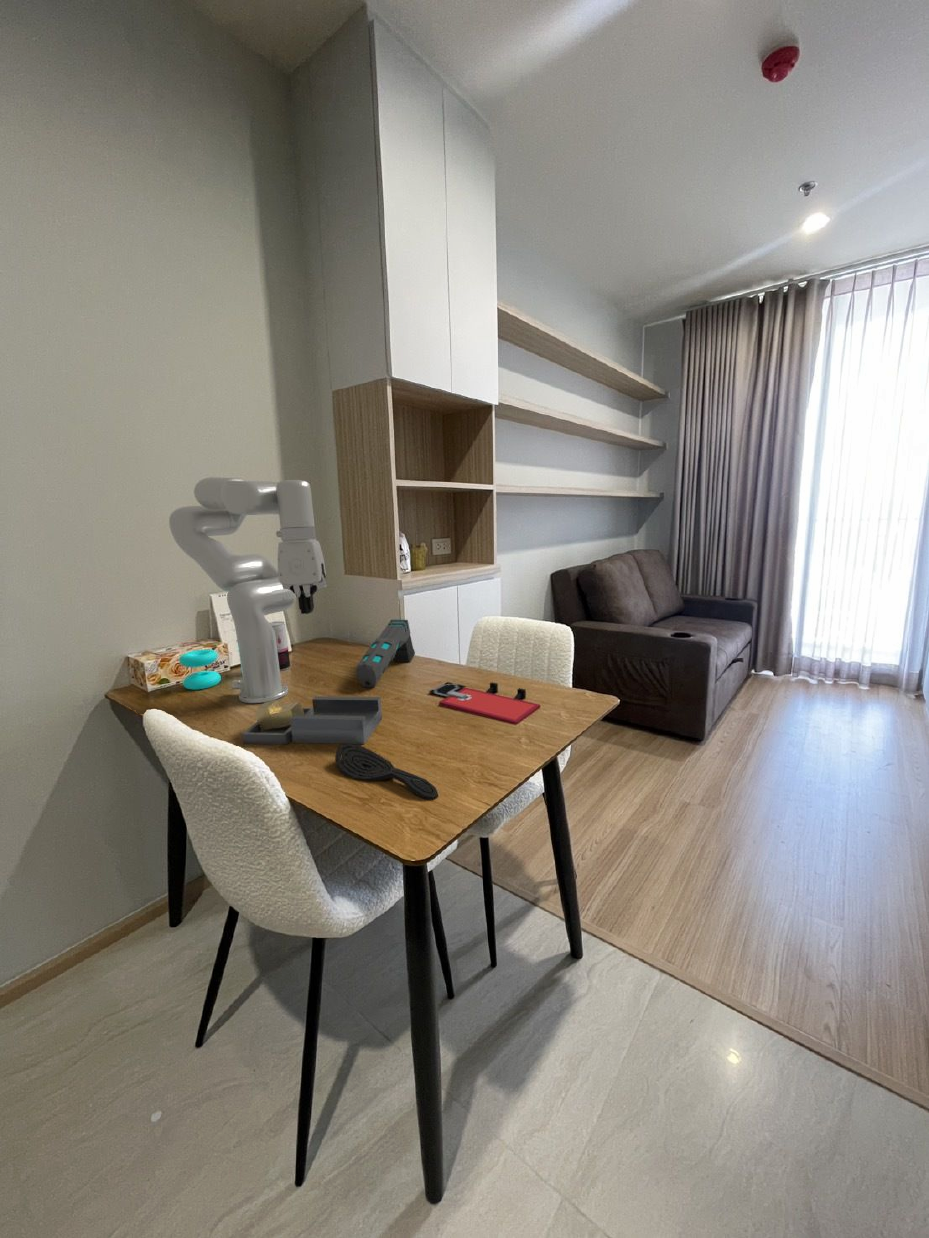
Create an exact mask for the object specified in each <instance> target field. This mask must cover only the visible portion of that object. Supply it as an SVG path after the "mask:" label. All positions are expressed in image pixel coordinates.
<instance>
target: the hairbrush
mask: <svg viewBox="0 0 929 1238" xmlns="http://www.w3.org/2000/svg"><path fill="white" fill-rule="evenodd" d="M345 742H346V741H345ZM349 742H350V741H349ZM343 743H344V742H343ZM343 743H342V744H341V746H340V744H339V743H338V744H339V745H337V749H336V751H335V756H334V757H335V760H334V761H335V764H336V765H337V768H338V770H339V773H340V774H342V775H343V776H346V777H347V778H350V779H353V780H355V781H356V780H357V781H362V782H368V783H369V782H379V781H380V782H381V781H383V780H386V779H390V778H392V779H394V780H396V781H398V782H400V783H402V784H404V786H406V787H407V788H408V789H409V790H410V791H411V792H412V793H413V794H415V795H416V796H418V797H419V798H421V799H423V800H427V801H428V800H429V801H430V800H436V799H437V798H439V793H438V790H437V788H436V786H434V784H432V783H431V782H429V781H428V780H427V779H426V778H423V777H421V776H418V775H415V774H413V773H410V772H408V771H405V770H402V769H401V768H397V767H395V766H394V764H392V762H391V760H388V758H387V757H386V758H385V756H382V755H381V753H379V754H378V753H377V751H376V750H373V749H372V748H366V747H365V746H362V745H361V744H347V743H346V744H343ZM353 743H354V742H353ZM357 743H358V742H357Z"/></svg>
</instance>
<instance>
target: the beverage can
mask: <svg viewBox="0 0 929 1238" xmlns="http://www.w3.org/2000/svg"><path fill="white" fill-rule="evenodd" d="M269 623H270V624H271V625H272V627H273V629H274V631H275V637H276V645H277V653H278V661H279V669H280V672H283V671H286V670H288V669H289V668H290V667H291V658H290V652H289V645H288V643H289V642H288V637H287V636H288V635H287V628H286V622H285V621H271V622H269Z"/></svg>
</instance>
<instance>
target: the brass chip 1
mask: <svg viewBox="0 0 929 1238" xmlns="http://www.w3.org/2000/svg"><path fill="white" fill-rule="evenodd" d="M280 706H281V703H280V701H279V698H278V699H275V700H272V701H268V702H262V704H261V705H260V706H258V707H257V708H255V709H254V710H253V712H254V715H255V718H256V722H258V724H259V726H260V729H261V731H264V730H268V729H272V728H275V726H274V723H273V720H272V717H271V715H270V714H272V713H273V712H274V711H275V710H276V709H278V708H279V707H280Z"/></svg>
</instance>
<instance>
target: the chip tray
mask: <svg viewBox="0 0 929 1238" xmlns="http://www.w3.org/2000/svg"><path fill="white" fill-rule="evenodd" d="M302 708H303V711H304V714H305V715H308V714H309V713H310V712H311V711H312V710H313V707H302ZM241 738H242V744H244V745H245V744H247V745H248V744H249V745H250V744H251V745H252V744H253V745H288V744H289V743H290V742H291V741H293V738H292V730H291V725H289V726H285V727H281V728H272V729H268V730H264V731H261V729H260V726H259V724H258V721H256V722H255V723H253V725H252V726H250V727H249V728H248V729H247V730H244V731H243V732H242V733H241Z"/></svg>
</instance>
